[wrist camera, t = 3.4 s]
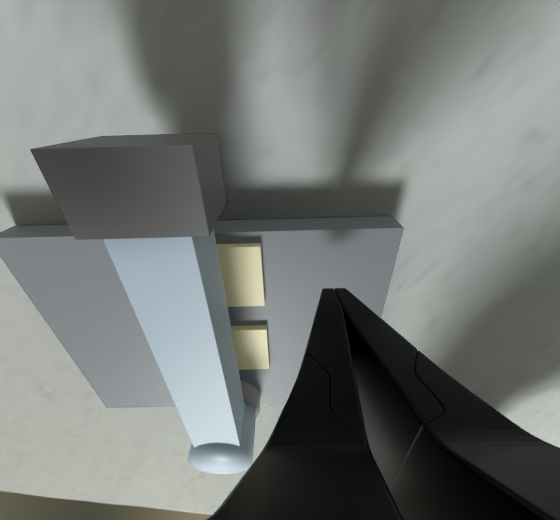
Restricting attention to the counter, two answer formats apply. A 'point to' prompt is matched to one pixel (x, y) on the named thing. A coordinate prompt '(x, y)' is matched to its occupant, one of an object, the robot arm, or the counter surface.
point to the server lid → (238, 290)
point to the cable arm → (165, 269)
